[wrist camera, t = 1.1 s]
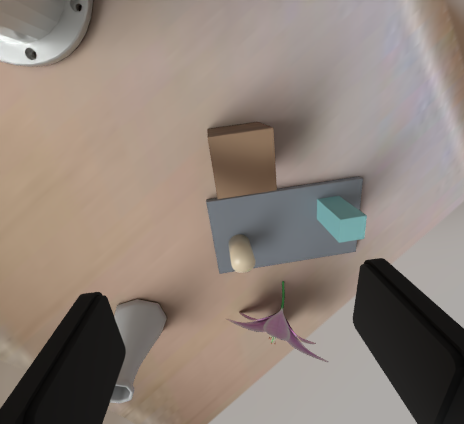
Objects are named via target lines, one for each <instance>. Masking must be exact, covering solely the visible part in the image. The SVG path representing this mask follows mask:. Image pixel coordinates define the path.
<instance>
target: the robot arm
mask: <svg viewBox="0 0 464 424" xmlns="http://www.w3.org/2000/svg"><path fill="white" fill-rule="evenodd" d="M80 5H81V6H82V10H81V11H80V12H79V9H78V8H79V6H80ZM92 5H93V0H0V61H1V62H5V63H9V64H13V65H19V66H27V67H38V66H47V65H50V64H53V63H56V62H59V61H60V60H62V59H64V58H65V57H67V56H69V55H70V54H71V53H72V52H73V51H74V50H75V49H76V48H77V47H78V46H79V44H80V42H81V41H82V39H83V37H84V36H85V34H86V32H87V29H88V25H89V22H90V19H91V13H92ZM35 53H36V54H37V57H35ZM353 323H354V326H355V328H356V330H357V331H358V333H359V334H360V336H361V337H362V339H363V340H364V342H365V344H366V345H367V346H368V348H369V350H370V351H371V353H372V354H373V356H374V357H375V359H376V360H377V362H378V364H379V365H380V367H381V368H382V370H383V371H384V373H385V374H386V376H387V377H388V379H389V381H390V382H391V384H392V385H393V387H394V388H395V390H396V391H397V393H398V394H399V396H400V397H401V399H402V400H403V402H404V404H405V405H406V407H407V408H408V410H409V411H410V413H411V414H412V416H413V417H414V419H415V420H416V422H417V424H464V328H462V327H461V326H460V325H459V324H458V323H457V322H456V321H454V320H453V319H452V318H451V317H450V316H449V315H448V314H446V313H445V312H444V311H443V310H442V309H441V308H440V307H438V306H437V305H436V304H435V303H434V302H433V301H432V300H431V299H429V298H428V297H427V296H426V295H425V294H424V293H423V292H421V291H420V290H419V289H418V288H417V287H416V286H415V285H413V284H412V283H411V282H410V281H409V280H408V279H407V278H406V277H404V276H403V275H402V274H401V273H400V272H399V271H398V270H396V269H395V268H394V267H393V266H392V265H391V264H390V263H389V262H387V261H386V260H385V259H383V258H379V259H371V260H366V261H365V262H364V264H363V265H361V266H360V271H359V278H358V285H357V292H356V299H355V306H354V313H353ZM125 355H126V348H125V345H124V342H123V339H122V337H121V334H120V331H119V329H118V326H117V323H116V320H115V318H114V315H113V312H112V310H111V307H110V304H109V301H108V299H107V297H106V296H102V294H101V293H100V292H94V293H86V294H81V295H80V296H79V297H78V299H77V300H76V301H75V303H74V304H73V306H72V307H71V309H70V310H69V311H68V313H67V314H66V316H65V317H64V319H63V320H62V321H61V323H60V324H59V326H58V327H57V329H56V330H55V331H54V333H53V334H52V336H51V337H50V339H49V340H48V342H47V343H46V344H45V346H44V347H43V349H42V350H41V352H40V353H39V354H38V356H37V357H36V359H35V360H34V362H33V363H32V364H31V366H30V367H29V369H28V370H27V372H26V373H25V374H24V376H23V377H22V379H21V380H20V382H19V383H18V385H17V386H16V387H15V389H14V390H13V392H12V393H11V394H10V396H9V397H8V399H7V400H6V402H5V403H4V404H3V406H2V407H1V409H0V424H102V423H103V420H104V417H105V414H106V411H107V408H108V406H109V403H110V400H111V397H112V394H113V391H114V388H115V385H116V382H117V379H118V377H119V374H120V371H121V368H122V365H123V362H124V359H125Z"/></svg>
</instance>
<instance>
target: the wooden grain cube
mask: <svg viewBox="0 0 464 424" xmlns="http://www.w3.org/2000/svg"><path fill="white" fill-rule="evenodd" d="M208 142H209V149H210V155H211V161H212V167H213V173H214V179H215V186H216V192H217V198H218V199H222V198H229V197H236V196H242V195H249V194H255V193H262V192H268V191H275V190H277V186H276V168H275V149H274V131H273V128H272V127H269V126H267V125H264V124H262V123H259V122H253V123H246V124H239V125H232V126H225V127H218V128H211V129H208Z"/></svg>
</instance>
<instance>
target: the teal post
mask: <svg viewBox="0 0 464 424" xmlns="http://www.w3.org/2000/svg"><path fill="white" fill-rule="evenodd" d="M366 218H367V215H365V214H364V213H362V212H361V211H360V210H358V209H357V208H355V207H354V206H353V205H351V204H350V203H348V202H347V201H346V200H344V199H343V198H341V197H340V196H335V197H328V198H322V199H317V220H318V221H319V222H320V223H321V224H322V225H323V226H324V227H325V228H326V229H327V230H328V232H329V233H330V234H331V235H332V236H333V237H334V238H335V239H336V240H337V241H338V242H339V243H341V242H347V241H353V240H359V239H364V236H365V227H366Z"/></svg>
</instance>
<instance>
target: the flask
mask: <svg viewBox="0 0 464 424" xmlns="http://www.w3.org/2000/svg"><path fill="white" fill-rule="evenodd" d="M114 318H115V320H116V323H117V326H118V329H119V331H120V334H121V337H122V339H123V342H124V345H125V348H126V355H125V359H124V362H123V365H122V368H121V371H120V374H119V377H118V379H117V382H116V385H115V388H114V391H113V394H112V397H111V400H110V402H112V403H123V402H126V401H130V400H131V399H132V396H133V393H134V387H133V382H134V379H135V376H136V374H137V372H138V369H139V367H140V365H141V363H142V362H143V360H144V359H145V357H146V355H147V354H148V352H149V351H150V349H151V348H152V346H153V345H154V343H155V342H156V340H157V339H158V338H159V336H160V334H161V333H162V331H163V328H164V325H165V322H166V319H167V317H166V315H165V314H164V312H163V310H162V308H161V307H160V305H159V303H154V302H149V301H144V300H139V299H136V300H133V301H130V302H126V303H123V304H120V305H117V307H116V311H115V316H114Z"/></svg>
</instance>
